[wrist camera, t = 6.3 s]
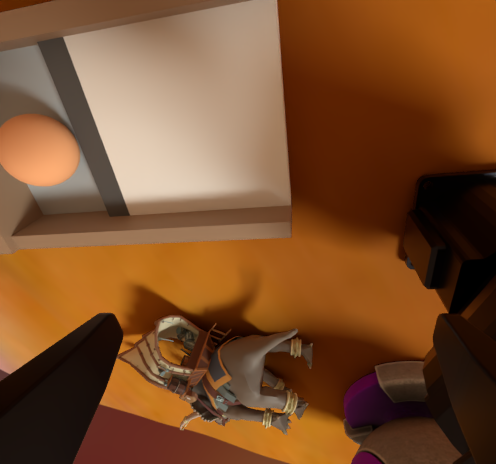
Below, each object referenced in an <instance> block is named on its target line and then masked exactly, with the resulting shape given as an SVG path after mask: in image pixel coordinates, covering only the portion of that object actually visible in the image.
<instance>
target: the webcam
mask: <svg viewBox="0 0 496 464" xmlns="http://www.w3.org/2000/svg"><path fill="white" fill-rule="evenodd" d="M423 365H424V362H422V361H400V362H392V363H385V364H381V365H377V366H375V370H376V372H374V373H372V374H369V375H367V376H364V377H362V378H361V379H359V380H358V381H356V382H355V383H354V384H353V385H352V386H350V388H349V389H348V390H347V392H346V394H345V397H344V411H345V417H346V419H343V422H344V429H345V433H346V435H347V436H348V437H349V438H350V439H352V440H353V441H354V442H355V443H357V444H359V445H361V446H360V447H359V449H358V451H357V453H356V455H355V457H354V458H353V460H352V463H351V464H453V462H454V461H455V460H457V459H458V458H459V457H461V456H462V455H461V454H460V453H459V451H458V450H457V449H456V448H455V447H454V446H453V445H452V444H451V443H450V441H449V440H448V438H447V437H446V436H445V434H444V433H443V431H442V430H441V429H440V427H439V426H438V424H437V423H436V421H435V420H434V418H433V416H432V414H431V412H430V410H429V408H428V406H427V404H426V403H425V399H424V398H425V396H426V395H427V394H428V393H427V390H426V385H425V380H424V375H423Z"/></svg>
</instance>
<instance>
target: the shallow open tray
mask: <svg viewBox="0 0 496 464" xmlns="http://www.w3.org/2000/svg"><path fill="white" fill-rule="evenodd" d="M22 114H41V115H45V116H48V117H51V118H53V119H55V120H57V121H59V122H60V123H62V124H63V125H65V126H66V127H67V128H68V129H69V130H70V131H71V132H72V134H73V135H74V137H75V138H76V140H77V142H78V145H79V149H80V162H79V165H78V168H77V170H76V171H75V173H74V174H73V175H72V176H71V177H70V178H69V179H68V180H66V181H64V182H62V183H60V184H57V185H53V186H34V185H30V184H26V183H24V182H21V181H19V180H18V179H16V178H14V177H13V176H12V175H10V174H9V173H8V172H7V171H6V170H5V169H4V168H3V166H2V165H1V164H0V254H13V253H15V252H16V251H17V250H19V249H38V248H61V247H84V246H107V245H129V244H152V243H175V242H198V241H221V240H244V239H267V238H290V237H291V230H292V200H291V186H290V173H289V159H288V145H287V131H286V117H285V103H284V89H283V75H282V61H281V47H280V33H279V19H278V5H277V0H54V1H50V2H45V3H41V4H36V5H32V6H27V7H23V8H18V9H13V10H9V11H4V12H0V127H1V126H2V125H3V124H4V123H5V122H6V121H8V120H9V119H11V118H13V117H15V116H18V115H22Z"/></svg>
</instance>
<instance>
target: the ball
mask: <svg viewBox="0 0 496 464" xmlns="http://www.w3.org/2000/svg"><path fill="white" fill-rule="evenodd" d="M79 162H80V149H79V145H78V142H77V140H76V138H75V137H74V135H73V134H72V132H71V131H70V130H69V129H68V128H67V127H66V126H65V125H63V124H62V123H60V122H59V121H57V120H55V119H53V118H51V117H48V116H45V115H41V114H22V115H18V116H15V117H13V118H11V119H9V120H8V121H6V122H5V123H4V124H3V125H2V126H1V127H0V164H1V165H2V166H3V168H4V169H5V170H6V171H7V172H8V173H9V174H10V175H12V176H13V177H14V178H16V179H18V180H19V181H21V182H24V183H26V184H30V185H34V186H53V185H57V184H60V183H62V182H64V181H66V180H68V179H69V178H70V177H71V176H72V175H73V174H74V173H75V171H76V170H77V168H78V165H79Z"/></svg>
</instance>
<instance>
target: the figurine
mask: <svg viewBox="0 0 496 464" xmlns="http://www.w3.org/2000/svg"><path fill="white" fill-rule="evenodd" d="M154 324H155V325H156V324H157V325H156V328H155V329H153V330H152V331H150V332H148V333H146V334H144V335H142V339H141V340H139V341H138V342H136V343H135V347H133V348H131V349H129V350H127V351H125V352H123V353H121V354H119V355H117V358H118V359H120V360H122V361H124V362H126V363H128V364H130V365H131V366H132V367H133V368H134V369H135V370H136V371H137V372H138V373H140V374H141V375H142V376H143V377H144V378H145V379H146V380H147V381H148V382H149V383H151V384H153V385H155V386H157V387H160V388H163V389H167V390H170V391H172V393H176V394H180V397H179V398H180V399H182V400H184V401H187V402H188V403H189V404H190V405H191V408H192V409H193V410H194V411H193V413H191V414H190V415H188V416H185V418H184V419H183V421H182V422H181V425H180V430H184V427H186V425H187V424H188V422H189V421H190V420H192V419H194V418H197V417H199V416H200V417H201V419H203V420H204V421H206V420H207V422H212V421H214V420H215V422H216V423H218V424H219V425H223V426H225V423H227V421H228V422H229V421H230V419H233V420H241V419H243V420H249V421H258V422H263V425H265V428H267V427H268V426H269V427H270V426H271V425H272V426H274V427H276V428H278V429H280V430H282V432H283V433H284V434H286V435H287V431H286V429H290V427H289V425H288V423H291V421H290V420H289V419H288V417H289V416H291V415H292V414H293V412H295V413H296V415H297V418H298V419H299V420H300V418H301V417H302V415H303V412H304V410H305V409H306V407H307V406H308V403H307V402H306V401H305V400H304V398H299V397H298V396H297V393H293V391H292V389H289V388H287V387H285V383H284V382H283V378H282V379H281V380H280V378H276V377H275V376H274V375H273V374H272V373H271V372H270V371H268V370H267V369H265V368H264V364H265V356H266V353H267V352H279V351H283V352H289V353H290V355H293V356H294V358H296V356H299V357H300V355H303V356H304V358H305V359H306V361H307V362H308V363H307V365H308V366H309V368H310V369H311V366H312V356H313V353H312V346H313V343H310V344H309V345H308V344H301V339H300V340H299V339H298V337H297V338H296V339H294V340H293V339H292V340H291V341H289V340H286V339H289V338H291V337H292V336H294V335H295V334H296V333H297V332H298V330H297V329H292V330H290V331H288V332H282V333H276V334H273V335H270V336H260V335H250V336H247V337H244V338H242V337H241V336H235V337H233V338H232V339H230V340H228V341H227V342H225V343H224V344H222V345H221V346H219V347H218V348H217V349H215V348H216V346H217V345H218V344H219V343H220V342H221V341H222V340H223V339H224V338H225V337H226V335H227V334H228V333H229V332H230V331H231V329H230V330H229V331H228V332H227V333H226V334H225V333H223V332H220V331H218V330H215V329H213V328H214V327H215V325H216V324H217V323H215V324H214V326H213V327H212V328H211V329H210V331H208V332H205V331H203V330H202V329H201V328H198V327H197V326H195V325H194V324H193V323H191V322H190V321H189V320H187V319H186V318H184V317H183V316H181V315H168V316H164V317H161V318H159V319H158V320H156V321H155V322H154ZM211 330H212V331H215V332H217V333H219V334H222V335H224V336H223V338H222V339H220V338H218V337H215V336H213V335H210V332H211ZM211 337H212V338H214V339H217V340H219V342H218V343H215V342H213V341H212V339H211ZM167 338H173V339H179V340H180V341H181V342H184V347H185V348H186V349H188V348H189V347H190V348H189V350H190V349H191V350H190V351H191V352H192V353H190V354H191V355H190V354H189V353H187V352H186V351H184V350H183V349H181V350H182V351H184V352H185V353H186V354H187V355H189V356H190V357H189V356H186V355H185V356H184V357H183V359H182V362H181V366H180V365H177V364H173V363H172V362H171V363H170V362H169V361H168V360H166V359H165V358H164V357H162V355H161V352H160V350H159V349H160V348H159V346H158V341H160V340H165V339H166V340H167V341H172V342H174V341H173V340H168V339H167ZM186 344H187V345H186ZM213 344H215V346H214V345H213ZM187 346H188V347H187ZM214 349H215V350H214ZM117 358H116V359H117ZM263 381H264V382H266V383H267V384H268V385H270V386H271V387H272V388H270V387H267V386H265V387H262V383H263ZM192 386H193V387H192ZM188 389H189V390H188ZM246 406H248V407H261V408H266V410H265V411H261V410H255V409H251V408H248V407H246ZM268 408H269V409H268ZM270 408H278V409H281V410H282V412H284V411H285V412H286V413H275V412H274V410H271V409H270ZM185 423H186V425H185V426H184V427H183V425H184V424H185ZM182 427H183V429H181V428H182Z"/></svg>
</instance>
